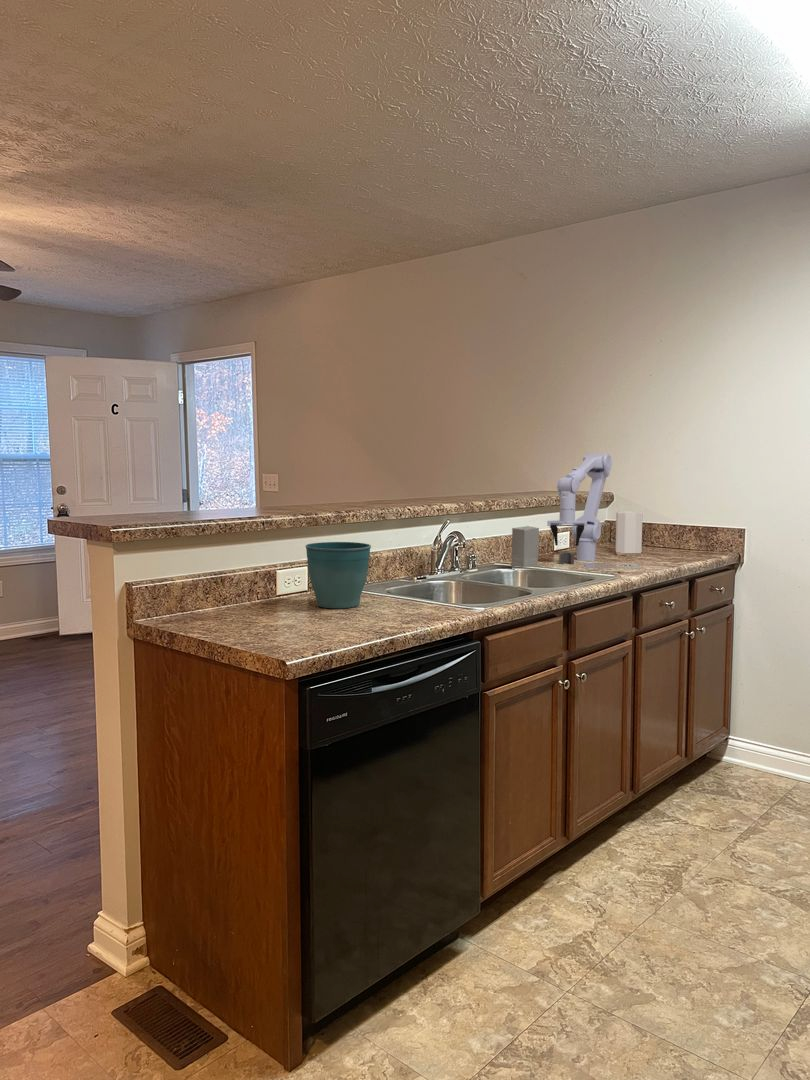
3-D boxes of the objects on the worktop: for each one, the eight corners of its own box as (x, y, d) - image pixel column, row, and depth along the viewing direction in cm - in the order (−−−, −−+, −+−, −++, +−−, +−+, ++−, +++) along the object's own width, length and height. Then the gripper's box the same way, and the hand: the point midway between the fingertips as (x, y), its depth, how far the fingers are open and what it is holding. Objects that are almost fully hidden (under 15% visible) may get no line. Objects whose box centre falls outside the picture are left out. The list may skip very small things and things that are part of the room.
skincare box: (525, 567, 304) (525, 525, 302) (539, 569, 298) (540, 527, 297) (509, 569, 298) (510, 527, 297) (524, 571, 293) (524, 528, 291)
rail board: (581, 567, 305) (581, 562, 305) (635, 567, 304) (635, 563, 303) (586, 572, 292) (586, 567, 291) (643, 572, 290) (643, 568, 290)
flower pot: (383, 603, 227) (383, 543, 226) (347, 613, 212) (346, 549, 210) (331, 598, 236) (330, 540, 235) (292, 607, 221) (292, 546, 219)
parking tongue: (554, 566, 308) (554, 562, 308) (575, 566, 308) (575, 562, 307) (556, 568, 300) (556, 564, 300) (578, 569, 300) (578, 565, 299)
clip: (559, 562, 307) (559, 552, 306) (572, 562, 306) (572, 552, 306) (560, 564, 302) (560, 553, 301) (573, 564, 301) (574, 553, 301)
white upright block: (644, 554, 347) (646, 511, 345) (637, 557, 337) (638, 513, 335) (619, 553, 352) (620, 510, 351) (611, 555, 343) (612, 512, 341)
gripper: (548, 509, 298) (548, 546, 300) (588, 510, 297) (587, 546, 298) (547, 508, 305) (546, 544, 307) (585, 509, 304) (585, 544, 305)
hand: (566, 545), depth 303 cm, fingers open, 7 cm apart
